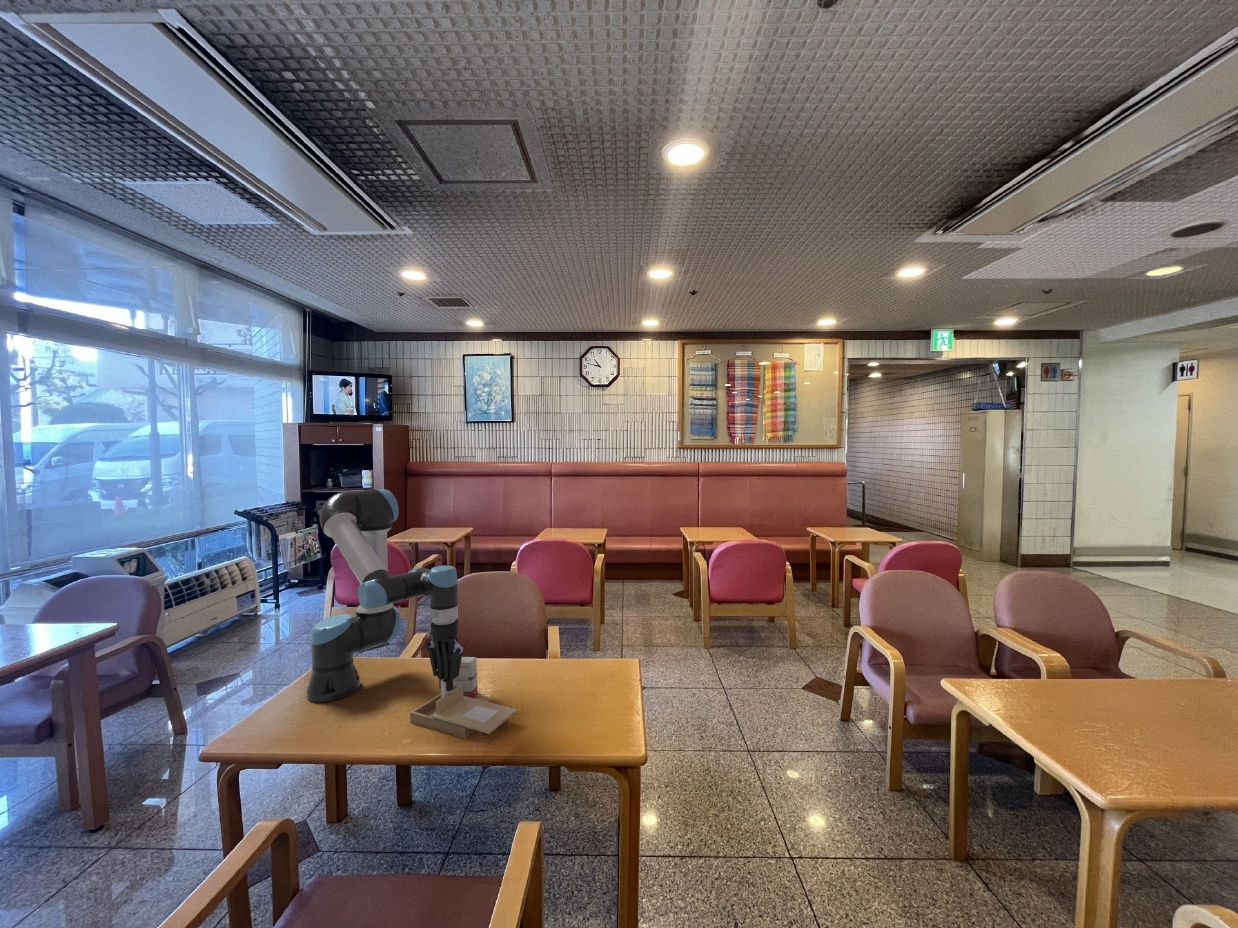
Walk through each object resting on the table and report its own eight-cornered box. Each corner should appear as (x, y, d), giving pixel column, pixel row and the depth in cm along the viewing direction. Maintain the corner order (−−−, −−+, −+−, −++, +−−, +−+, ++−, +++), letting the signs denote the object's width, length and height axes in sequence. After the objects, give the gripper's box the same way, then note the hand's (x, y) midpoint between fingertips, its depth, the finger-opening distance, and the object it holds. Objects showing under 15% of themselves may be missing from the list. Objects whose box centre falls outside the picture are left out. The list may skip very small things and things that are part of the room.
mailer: (410, 722, 142) (410, 712, 142) (441, 702, 153) (441, 693, 153) (464, 738, 134) (464, 727, 133) (493, 716, 144) (493, 706, 144)
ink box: (478, 692, 159) (477, 656, 158) (472, 700, 154) (471, 662, 154) (452, 691, 160) (451, 655, 159) (445, 699, 155) (444, 662, 154)
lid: (432, 717, 138) (431, 702, 138) (462, 697, 149) (461, 683, 149) (489, 733, 130) (489, 718, 130) (516, 711, 141) (516, 696, 141)
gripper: (417, 621, 142) (419, 702, 143) (452, 627, 137) (454, 711, 138) (437, 613, 149) (439, 690, 150) (471, 619, 144) (473, 699, 144)
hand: (446, 700), depth 144 cm, fingers closed
